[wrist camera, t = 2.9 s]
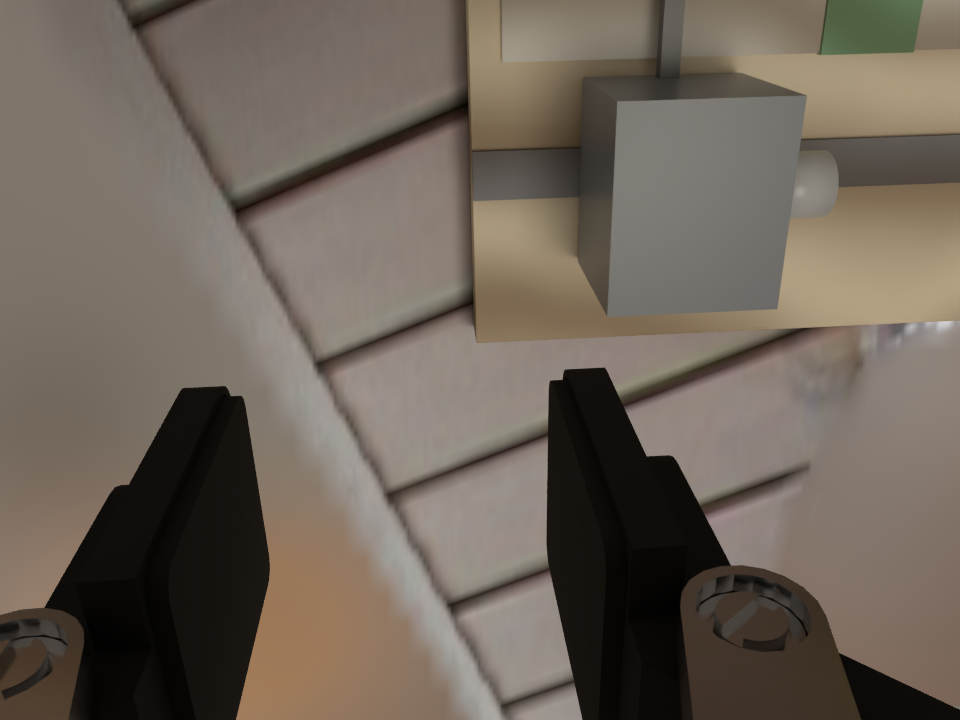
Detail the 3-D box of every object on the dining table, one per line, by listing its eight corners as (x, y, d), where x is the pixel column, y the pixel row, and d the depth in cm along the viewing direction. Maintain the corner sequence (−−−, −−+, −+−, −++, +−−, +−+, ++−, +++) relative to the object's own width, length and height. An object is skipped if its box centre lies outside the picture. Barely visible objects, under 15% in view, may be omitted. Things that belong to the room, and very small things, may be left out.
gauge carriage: (586, -40, 25) (623, -40, 20) (818, -46, 25) (905, -47, 21) (577, 261, 29) (607, 316, 24) (778, 252, 29) (844, 306, 25)
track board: (464, -27, 27) (481, -23, 20) (1196, -45, 28) (1447, -46, 21) (474, 326, 32) (489, 426, 25) (1091, 298, 33) (1265, 385, 26)
